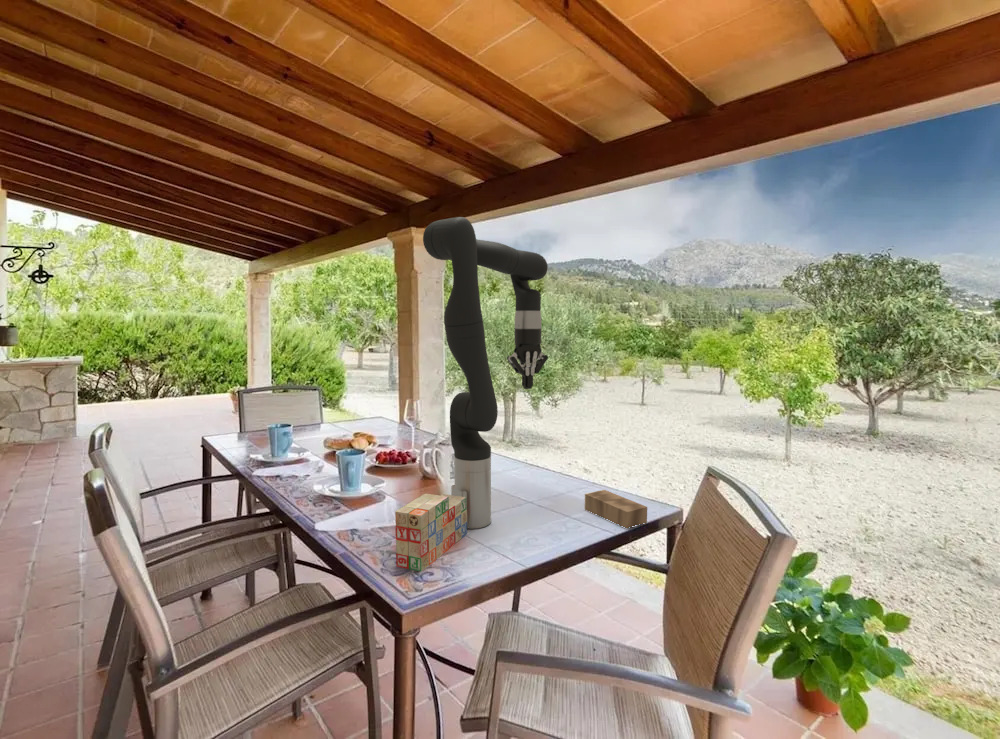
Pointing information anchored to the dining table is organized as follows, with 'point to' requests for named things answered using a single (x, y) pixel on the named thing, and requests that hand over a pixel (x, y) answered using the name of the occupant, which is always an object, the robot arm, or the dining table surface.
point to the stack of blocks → (428, 529)
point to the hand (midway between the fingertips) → (527, 388)
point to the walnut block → (615, 508)
